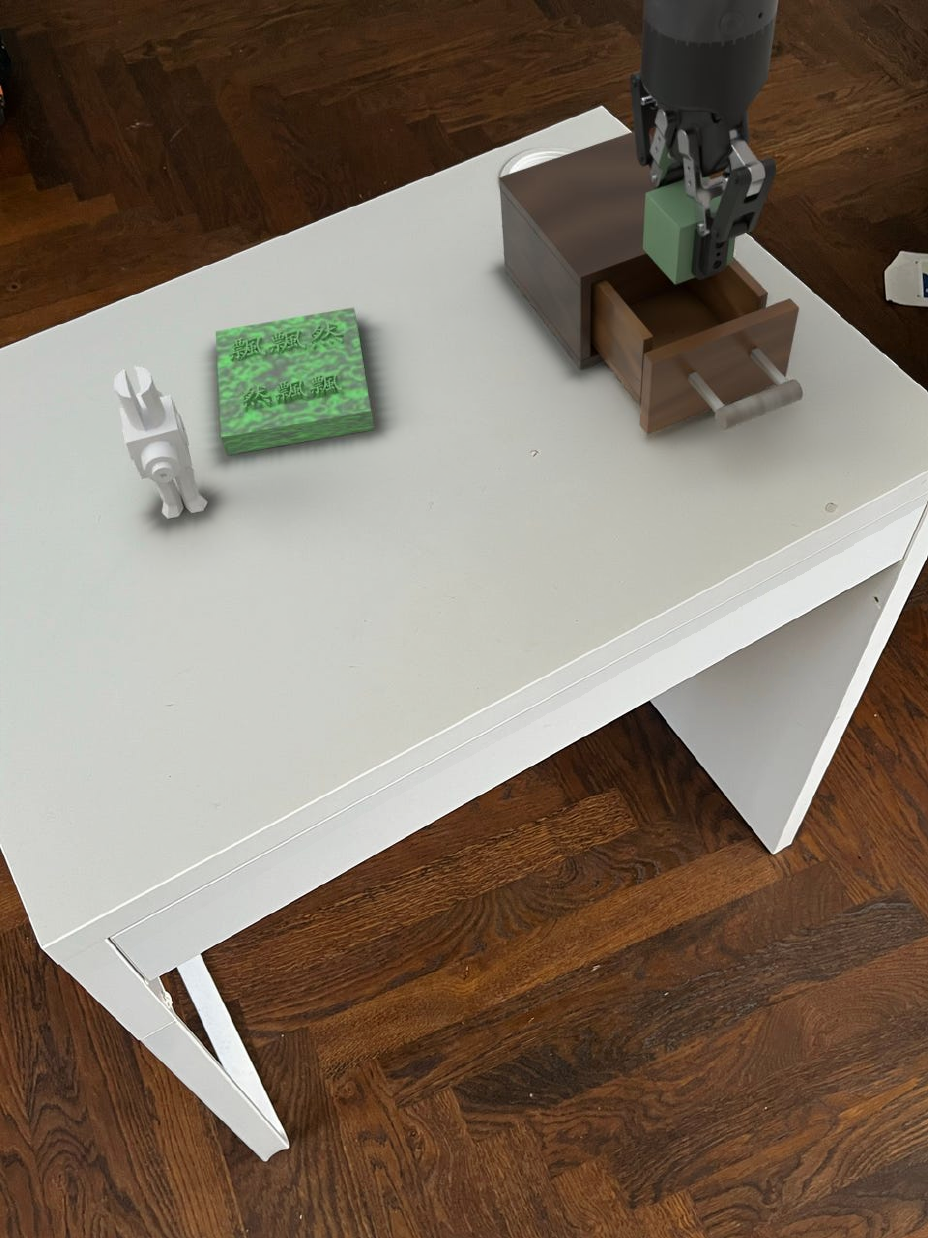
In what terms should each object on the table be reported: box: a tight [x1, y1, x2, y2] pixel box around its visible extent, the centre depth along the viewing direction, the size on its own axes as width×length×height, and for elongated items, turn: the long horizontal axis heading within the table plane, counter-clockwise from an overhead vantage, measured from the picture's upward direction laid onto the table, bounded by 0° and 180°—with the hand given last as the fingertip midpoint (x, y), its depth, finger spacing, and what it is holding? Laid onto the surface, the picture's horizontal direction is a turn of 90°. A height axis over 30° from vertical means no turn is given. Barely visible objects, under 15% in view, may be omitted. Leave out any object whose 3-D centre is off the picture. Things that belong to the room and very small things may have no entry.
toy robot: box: [113, 365, 208, 520], centre depth 80 cm, size 4×8×12 cm, turn 17°
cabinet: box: [498, 130, 685, 370], centre depth 90 cm, size 14×13×9 cm
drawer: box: [590, 256, 804, 436], centre depth 83 cm, size 18×12×7 cm, turn 24°
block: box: [643, 176, 737, 284], centre depth 78 cm, size 4×4×4 cm
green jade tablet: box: [215, 306, 375, 456], centre depth 89 cm, size 11×12×2 cm
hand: (687, 251), depth 79 cm, fingers closed on block, 4 cm apart
